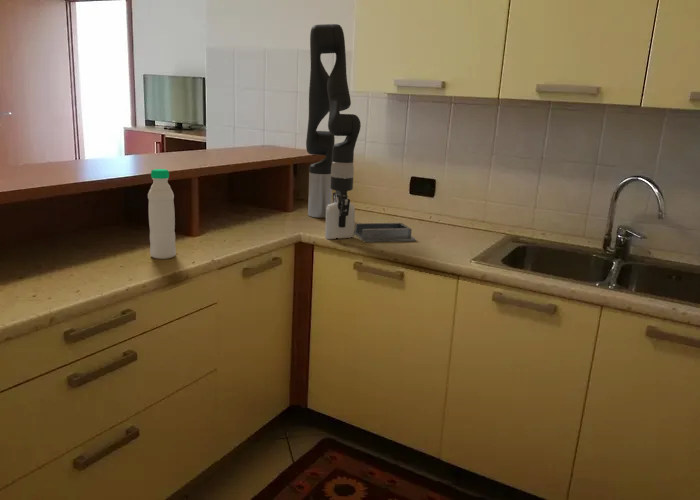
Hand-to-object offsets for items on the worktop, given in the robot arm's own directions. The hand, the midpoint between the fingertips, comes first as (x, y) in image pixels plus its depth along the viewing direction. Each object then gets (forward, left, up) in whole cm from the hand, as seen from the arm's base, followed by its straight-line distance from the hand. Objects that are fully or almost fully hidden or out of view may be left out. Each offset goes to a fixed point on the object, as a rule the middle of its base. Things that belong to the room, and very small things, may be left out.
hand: (339, 225), depth 198 cm
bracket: (0, +16, -4) cm, 17 cm away
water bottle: (+17, -57, -5) cm, 60 cm away
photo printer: (0, 0, -5) cm, 5 cm away
